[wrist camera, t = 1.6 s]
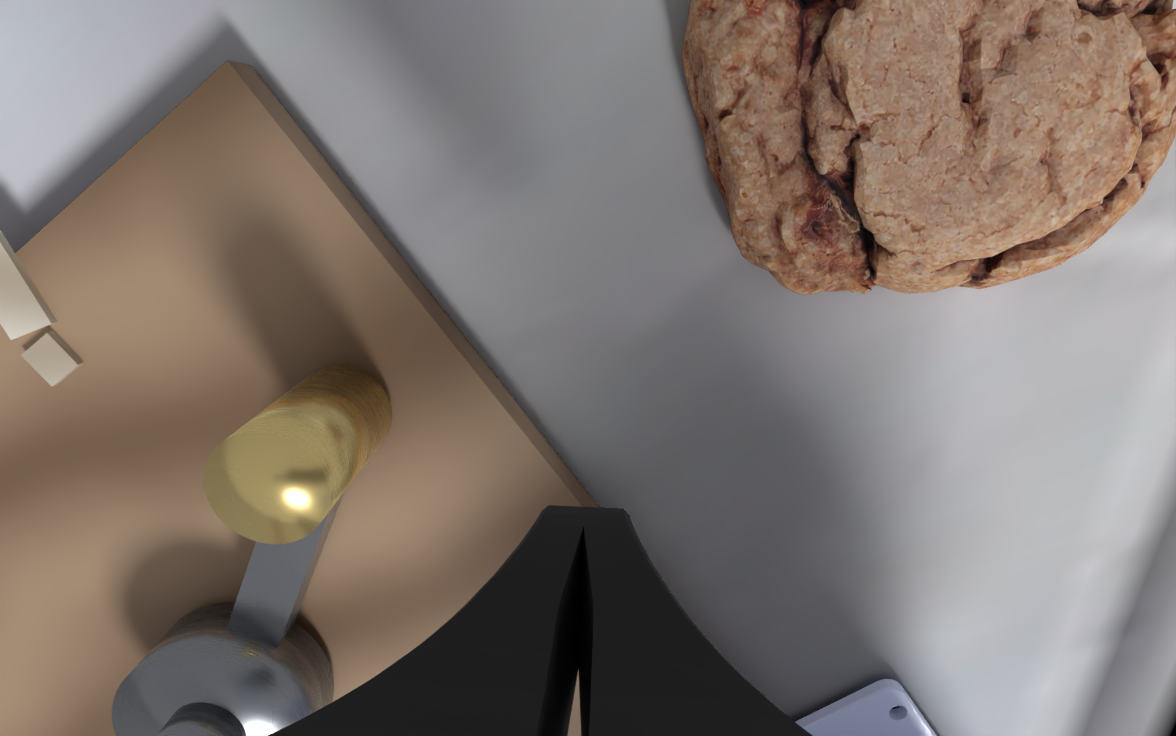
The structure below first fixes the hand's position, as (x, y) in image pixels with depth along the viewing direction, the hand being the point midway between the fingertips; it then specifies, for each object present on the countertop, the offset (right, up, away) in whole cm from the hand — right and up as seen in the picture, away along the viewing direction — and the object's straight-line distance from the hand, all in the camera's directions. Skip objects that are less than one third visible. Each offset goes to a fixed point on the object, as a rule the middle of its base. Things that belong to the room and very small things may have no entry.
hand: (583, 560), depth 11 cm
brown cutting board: (-10, -5, +10) cm, 15 cm away
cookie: (+7, +10, +5) cm, 13 cm away
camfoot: (-8, -2, +7) cm, 11 cm away
